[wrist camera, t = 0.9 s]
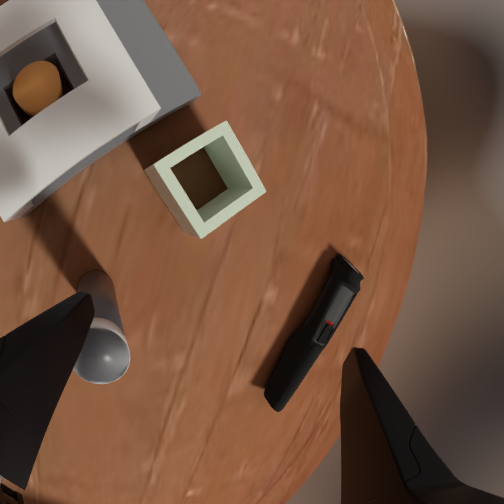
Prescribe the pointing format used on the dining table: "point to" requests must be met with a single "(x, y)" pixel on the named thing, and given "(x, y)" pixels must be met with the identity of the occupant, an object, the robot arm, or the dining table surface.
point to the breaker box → (81, 90)
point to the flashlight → (102, 333)
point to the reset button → (37, 87)
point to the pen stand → (230, 169)
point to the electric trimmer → (313, 333)
